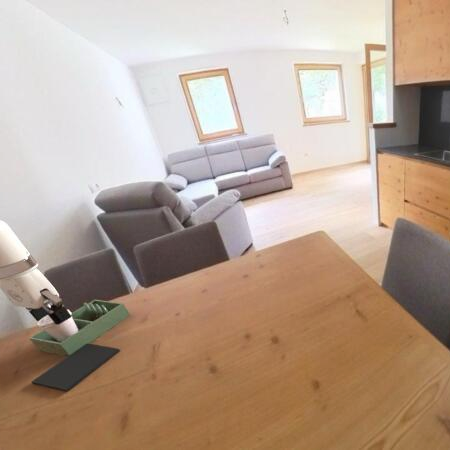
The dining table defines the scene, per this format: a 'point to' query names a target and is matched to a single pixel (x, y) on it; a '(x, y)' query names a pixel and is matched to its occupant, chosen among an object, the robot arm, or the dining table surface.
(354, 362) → the dining table surface
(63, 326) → the smoothie
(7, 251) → the robot arm
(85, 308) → the rack
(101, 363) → the mat
